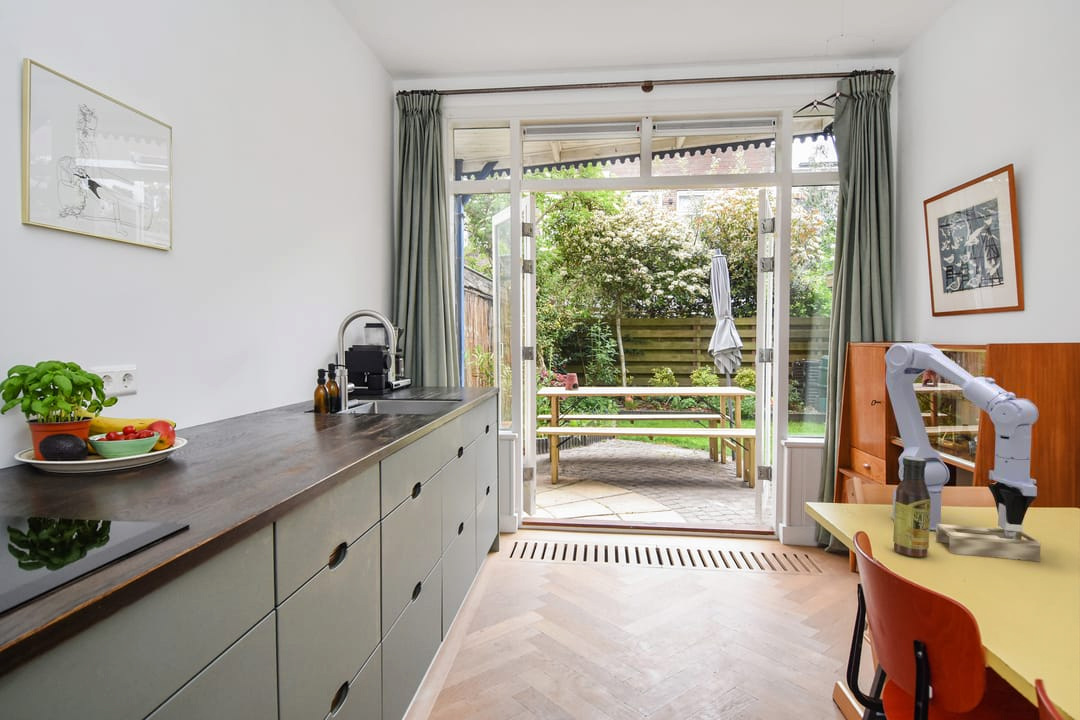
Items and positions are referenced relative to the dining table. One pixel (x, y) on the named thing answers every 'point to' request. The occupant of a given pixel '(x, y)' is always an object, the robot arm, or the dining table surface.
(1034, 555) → the beige wooden frame
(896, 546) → the sauce bottle
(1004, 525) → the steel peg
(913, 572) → the dining table surface
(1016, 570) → the dining table surface
